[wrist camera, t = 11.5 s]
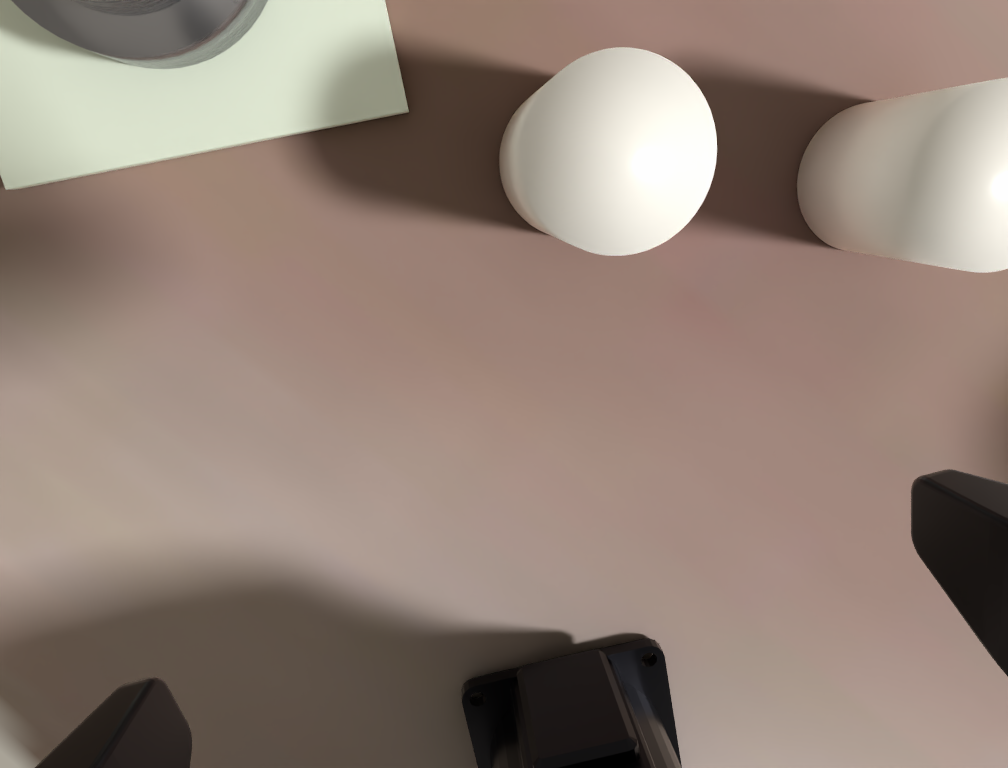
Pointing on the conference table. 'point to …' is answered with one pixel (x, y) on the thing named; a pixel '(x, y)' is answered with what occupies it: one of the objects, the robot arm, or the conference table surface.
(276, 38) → the sage mat
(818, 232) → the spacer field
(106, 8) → the silver cylinder
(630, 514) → the conference table surface
